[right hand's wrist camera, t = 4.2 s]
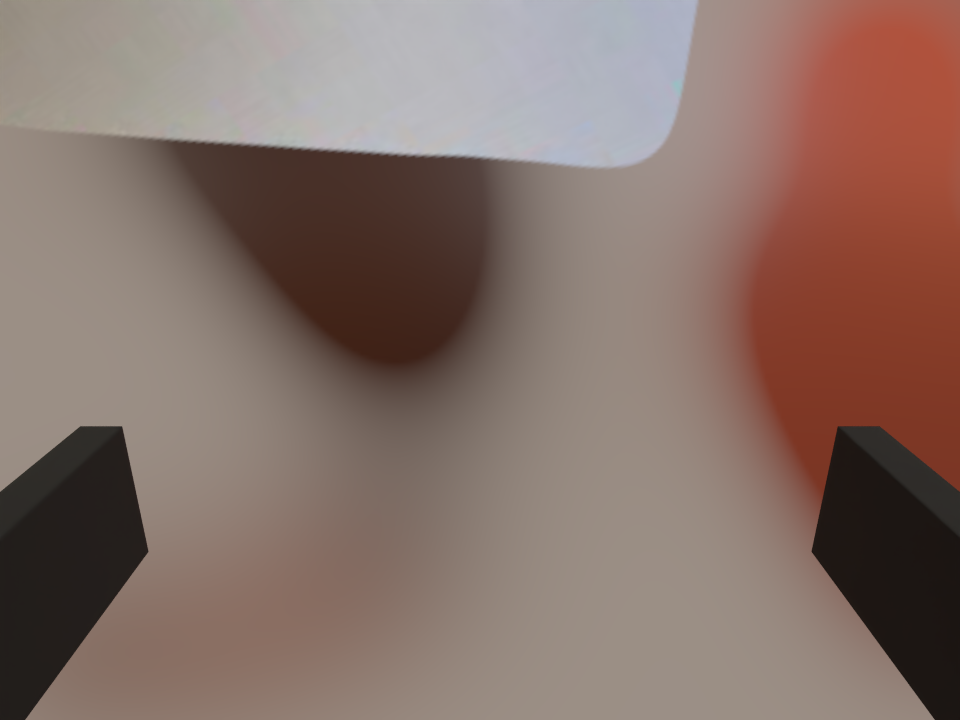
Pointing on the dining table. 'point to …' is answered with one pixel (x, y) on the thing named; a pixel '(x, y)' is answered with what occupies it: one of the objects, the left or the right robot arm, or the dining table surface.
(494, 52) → the dining table surface
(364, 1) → the dining table surface
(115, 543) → the right robot arm
